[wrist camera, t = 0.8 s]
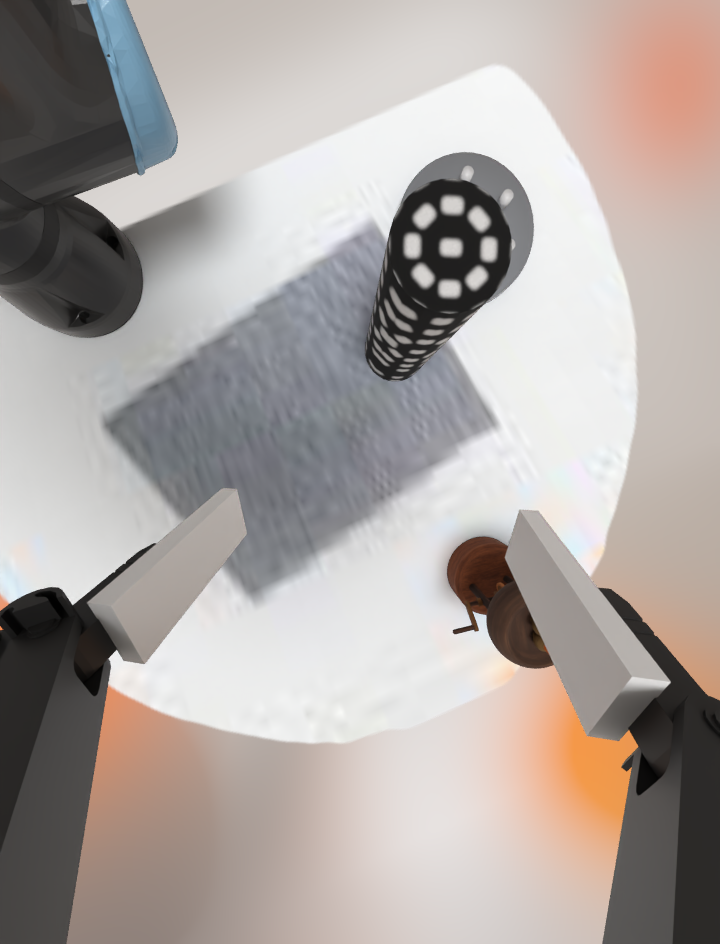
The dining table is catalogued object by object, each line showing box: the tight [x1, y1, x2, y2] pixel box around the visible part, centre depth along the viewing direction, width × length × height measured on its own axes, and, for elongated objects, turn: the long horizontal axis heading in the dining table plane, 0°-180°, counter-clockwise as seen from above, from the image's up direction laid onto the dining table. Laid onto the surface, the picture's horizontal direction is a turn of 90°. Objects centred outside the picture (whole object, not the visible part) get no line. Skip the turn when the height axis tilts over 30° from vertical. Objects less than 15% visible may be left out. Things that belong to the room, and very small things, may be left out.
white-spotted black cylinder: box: [365, 178, 512, 381], centre depth 28 cm, size 8×8×20 cm
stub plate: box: [400, 152, 534, 303], centre depth 36 cm, size 18×18×3 cm
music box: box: [447, 537, 554, 668], centre depth 33 cm, size 15×11×20 cm
